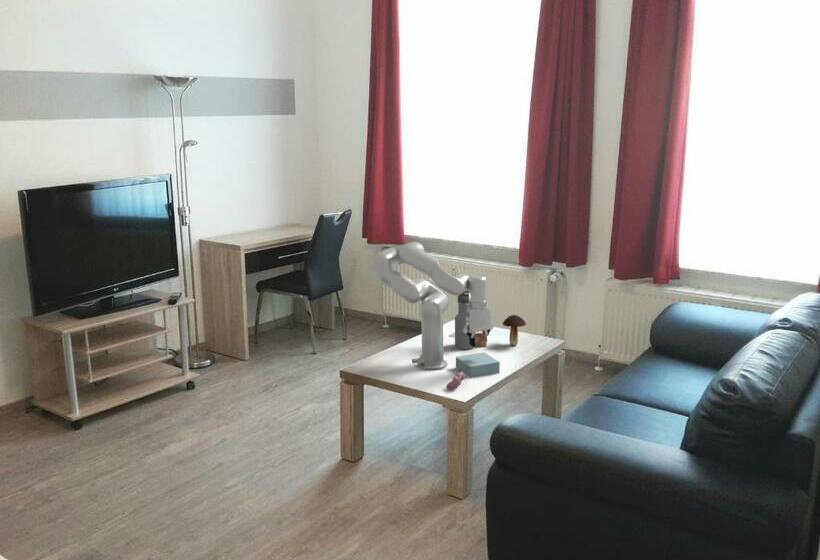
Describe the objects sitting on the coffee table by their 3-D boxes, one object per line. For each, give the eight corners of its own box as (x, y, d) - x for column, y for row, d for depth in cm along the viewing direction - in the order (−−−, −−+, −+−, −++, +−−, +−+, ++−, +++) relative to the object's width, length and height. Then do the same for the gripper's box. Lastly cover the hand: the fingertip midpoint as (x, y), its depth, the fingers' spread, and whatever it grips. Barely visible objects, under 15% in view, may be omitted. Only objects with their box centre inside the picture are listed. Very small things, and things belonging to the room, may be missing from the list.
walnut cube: (475, 348, 316) (475, 337, 315) (470, 345, 321) (470, 334, 320) (486, 346, 318) (486, 335, 317) (480, 343, 323) (480, 332, 322)
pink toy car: (454, 394, 300) (461, 380, 298) (444, 388, 301) (452, 374, 299) (461, 385, 309) (469, 372, 307) (452, 379, 310) (459, 366, 308)
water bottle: (476, 343, 358) (477, 287, 351) (475, 350, 348) (475, 292, 342) (455, 343, 359) (455, 287, 353) (454, 349, 350) (453, 292, 344)
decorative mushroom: (498, 346, 353) (499, 316, 350) (508, 340, 362) (509, 310, 359) (519, 350, 348) (520, 319, 344) (529, 343, 356) (530, 313, 353)
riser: (470, 377, 313) (470, 366, 312) (455, 367, 326) (455, 356, 325) (499, 372, 319) (499, 362, 318) (483, 362, 331) (484, 352, 330)
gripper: (464, 309, 309) (464, 350, 313) (499, 304, 315) (499, 344, 319) (456, 305, 316) (456, 345, 320) (491, 300, 322) (491, 340, 326)
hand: (478, 344), depth 320 cm, fingers closed on walnut cube, 4 cm apart
